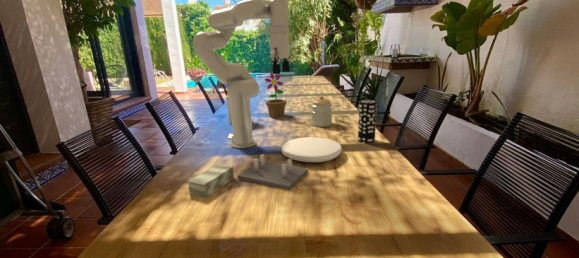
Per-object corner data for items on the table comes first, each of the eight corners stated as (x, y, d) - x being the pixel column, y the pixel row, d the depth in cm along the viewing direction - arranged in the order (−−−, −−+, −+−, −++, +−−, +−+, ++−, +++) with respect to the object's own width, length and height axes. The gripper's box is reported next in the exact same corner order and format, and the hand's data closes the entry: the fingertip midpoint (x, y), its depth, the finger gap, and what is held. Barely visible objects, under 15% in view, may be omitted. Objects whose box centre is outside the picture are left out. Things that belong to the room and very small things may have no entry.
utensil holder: (232, 119, 202) (230, 93, 197) (254, 119, 200) (252, 93, 195) (225, 125, 188) (222, 97, 183) (248, 125, 186) (246, 97, 181)
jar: (317, 120, 193) (317, 93, 188) (335, 123, 185) (336, 94, 181) (306, 125, 183) (306, 96, 178) (325, 128, 175) (325, 98, 170)
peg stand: (237, 178, 114) (236, 162, 112) (260, 163, 128) (259, 149, 126) (289, 190, 104) (289, 172, 103) (308, 172, 118) (307, 156, 116)
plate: (288, 134, 151) (343, 136, 146) (288, 147, 152) (342, 149, 147) (274, 147, 124) (340, 151, 119) (274, 163, 125) (340, 167, 120)
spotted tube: (371, 144, 147) (374, 103, 141) (355, 141, 151) (356, 102, 145) (377, 139, 153) (379, 100, 148) (361, 137, 158) (362, 99, 152)
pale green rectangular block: (205, 198, 101) (203, 184, 100) (189, 194, 104) (187, 181, 103) (234, 179, 115) (233, 166, 114) (219, 176, 118) (218, 164, 117)
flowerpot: (264, 118, 202) (261, 72, 194) (268, 113, 216) (266, 70, 207) (285, 118, 200) (283, 72, 191) (288, 113, 213) (287, 70, 205)
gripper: (280, 31, 135) (281, 70, 140) (262, 31, 120) (264, 74, 125) (296, 30, 132) (297, 70, 137) (279, 30, 117) (280, 75, 122)
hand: (281, 72), depth 131 cm, fingers open, 9 cm apart
